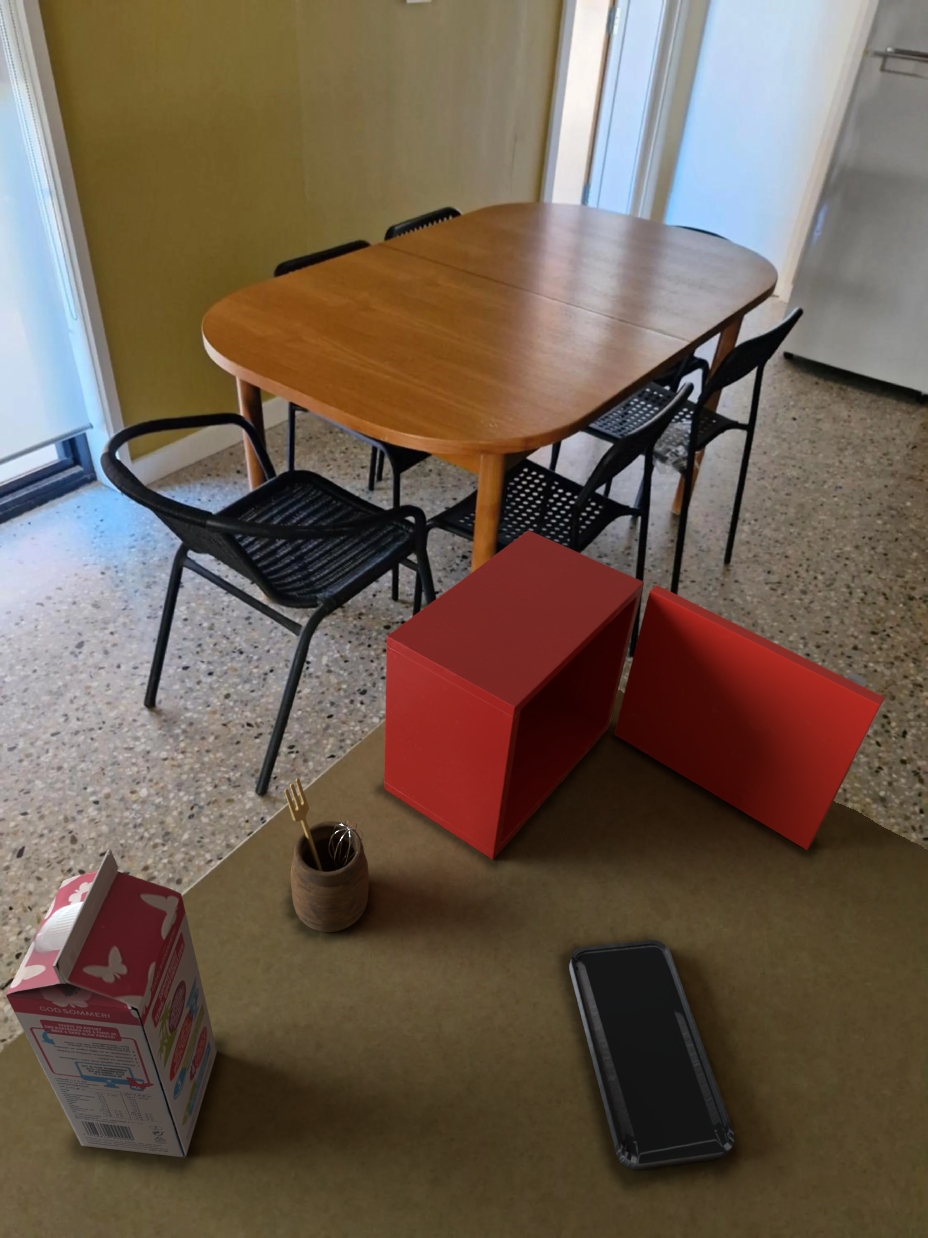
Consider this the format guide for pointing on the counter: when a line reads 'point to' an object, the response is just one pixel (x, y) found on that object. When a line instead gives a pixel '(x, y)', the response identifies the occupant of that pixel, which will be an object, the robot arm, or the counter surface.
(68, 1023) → the juice carton
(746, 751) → the red cabinet door
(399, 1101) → the counter surface
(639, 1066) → the phone
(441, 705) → the cabinet
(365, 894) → the utensil holder
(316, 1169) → the counter surface
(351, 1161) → the counter surface
